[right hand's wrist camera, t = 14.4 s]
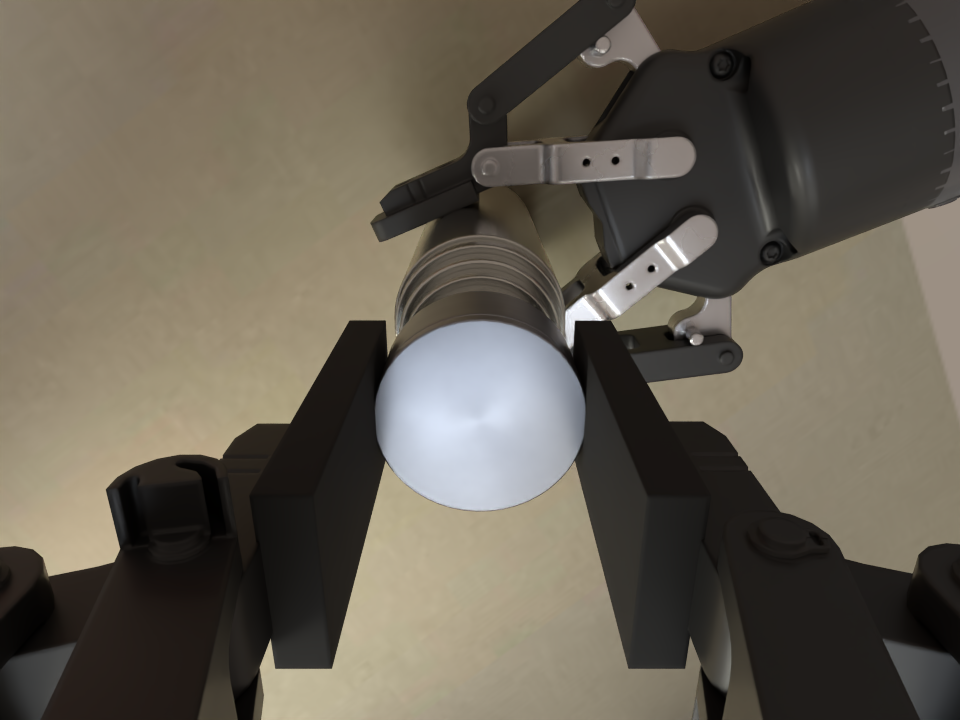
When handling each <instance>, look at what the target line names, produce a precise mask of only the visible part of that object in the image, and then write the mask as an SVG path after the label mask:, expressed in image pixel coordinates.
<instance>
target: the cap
mask: <svg viewBox="0 0 960 720" xmlns="http://www.w3.org/2000/svg"><path fill="white" fill-rule="evenodd" d="M374 404H375V420H376V435H377V443H378V446H379V448H380V450H381V453H382V455H383V457H384V458H385V460H386V462H387V463H388V465H389V466H390V468H391V469H392V470H393V472H394V473H395V474H396V475H397V476H398V477H399V478H400V479H401V480H402V481H403V482H404V483H405V484H406V485H407V486H408V487H410V488H411V489H412V490H414V491H415V492H416V493H418V494H420V495H421V496H423V497H425V498H427V499H429V500H431V501H433V502H435V503H438V504H440V505H444V506H447V507H450V508H455V509H460V510H466V511H494V510H501V509H506V508H510V507H514V506H517V505H520V504H522V503H525V502H528V501H530V500H532V499H533V498H535V497H537V496H539V495H541V494H542V493H544V492H545V491H547V490H548V489H550V488H551V487H552V486H553V485H554V484H555V483H557V482H558V481H559V480H560V479H561V478H562V477H563V475H564V474H565V473H566V472H567V471H568V470H569V468H570V467H571V465H572V464H573V462H574V461H575V459H576V457H577V455H578V453H579V451H580V449H581V447H582V444H583V440H584V427H585V411H586V396H585V393H584V389H583V385H582V383H581V380H580V377H579V374H578V371H577V368H576V365H575V363H574V360H573V357H572V354H571V351H570V349H569V347H568V344H567V342H566V340H565V338H564V337H563V335H562V333H561V332H560V330H559V329H558V328H557V327H556V325H555V324H554V323H553V322H552V321H551V320H550V319H549V318H548V317H547V316H546V315H545V314H544V313H543V312H541V311H540V310H538V309H537V308H535V307H534V306H533V305H531V304H529V303H527V302H525V301H523V300H521V299H518V298H516V297H513V296H510V295H506V294H502V293H497V292H488V291H470V292H464V293H458V294H454V295H451V296H447V297H444V298H442V299H440V300H437V301H435V302H433V303H431V304H430V305H428V306H426V307H425V308H423V309H422V310H420V311H419V312H418V313H417V314H416V315H414V316H413V317H412V318H411V319H410V320H409V321H408V322H407V323H406V324H405V326H404V327H403V328H402V330H401V331H400V333H399V334H398V335H397V337H396V339H395V341H394V343H393V345H392V347H391V350H390V353H389V356H388V359H387V361H386V364H385V367H384V370H383V373H382V376H381V379H380V381H379V384H378V387H377V390H376V393H375V399H374Z"/></svg>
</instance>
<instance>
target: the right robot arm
mask: <svg viewBox="0 0 960 720" xmlns="http://www.w3.org/2000/svg"><path fill="white" fill-rule="evenodd" d="M387 359H388V354H387V337H386V321H349V323H348V324H347V326H346V328H345V330H344V331H343V333H342V335H341V336H340V338H339V340H338V342H337V343H336V345H335V347H334V349H333V350H332V352H331V354H330V356H329V357H328V359H327V361H326V363H325V364H324V366H323V368H322V369H321V371H320V373H319V375H318V376H317V378H316V380H315V382H314V383H313V385H312V387H311V389H310V390H309V392H308V394H307V396H306V397H305V399H304V401H303V402H302V404H301V406H300V408H299V409H298V411H297V413H296V415H295V416H294V418H293V420H292V422H291V423H290V424H256V425H255V426H253V427H252V428H250V429H249V430H247V431H246V432H244V433H242V434H241V435H239V436H238V437H236V438H235V439H234V440H233V442H232V443H231V445H230V446H229V447H228V449H227V450H226V452H225V453H224V454H223V459H220V460H218V459H216V458H212V457H208V456H204V455H176V456H171V457H165V458H160V459H156V460H153V461H150V462H147V463H144V464H141V465H139V466H136V467H134V468H132V469H130V470H129V471H127V472H125V473H124V474H122V475H120V476H119V477H117V478H116V479H115V480H114V481H113V482H112V483H111V484H110V486H109V487H108V488H107V489H106V492H107V496H108V500H109V504H110V508H111V513H112V517H113V521H114V525H115V529H116V533H117V537H118V541H119V545H120V551H119V553H118V556H117V558H116V560H115V562H114V563H110V564H106V565H102V566H99V567H94V568H89V569H84V570H79V571H74V572H69V573H64V574H59V575H54V576H49V577H48V573H47V570H46V567H45V563H44V560H43V557H41V556H40V555H39V554H38V553H37V552H35V551H34V550H33V549H28V548H22V547H16V546H13V547H2V548H0V720H261V715H262V707H263V698H264V694H263V687H262V680H261V674H260V668H259V667H260V665H261V662H262V659H263V657H264V654H265V652H266V649H267V646H268V644H269V641H270V639H271V643H272V650H273V656H274V663H275V669H332V666H333V662H334V658H335V654H336V651H337V647H338V643H339V639H340V635H341V631H342V627H343V623H344V620H345V616H346V612H347V608H348V604H349V600H350V596H351V592H352V588H353V585H354V581H355V577H356V573H357V569H358V565H359V561H360V557H361V554H362V550H363V546H364V542H365V538H366V534H367V530H368V526H369V522H370V519H371V515H372V511H373V507H374V503H375V499H376V495H377V491H378V488H379V484H380V480H381V476H382V472H383V468H384V464H385V458H384V457H383V455H382V453H381V450H380V448H379V446H378V443H377V435H376V420H375V404H374V399H375V393H376V390H377V387H378V384H379V381H380V379H381V376H382V373H383V370H384V367H385V364H386V361H387ZM573 360H574V363H575V365H576V368H577V371H578V374H579V377H580V380H581V383H582V385H583V389H584V393H585V396H586V411H585V427H584V440H583V444H582V447H581V449H580V451H579V453H578V455H577V457H576V459H575V463H576V467H577V470H578V474H579V478H580V482H581V486H582V490H583V494H584V498H585V501H586V505H587V509H588V513H589V517H590V521H591V525H592V529H593V532H594V536H595V540H596V544H597V548H598V552H599V556H600V560H601V564H602V567H603V571H604V575H605V579H606V583H607V587H608V591H609V595H610V598H611V602H612V606H613V610H614V614H615V618H616V622H617V626H618V629H619V633H620V637H621V641H622V645H623V649H624V653H625V657H626V660H627V664H628V668H629V669H685V666H686V659H687V653H688V646H689V639H690V637H691V639H692V642H693V644H694V647H695V650H696V652H697V655H698V657H699V660H700V662H701V668H700V674H699V680H698V686H697V692H696V698H695V704H694V710H693V716H692V720H960V545H959V544H948V543H945V544H940V545H934V546H928V547H927V548H926V549H925V550H924V551H922V552H921V553H920V554H919V555H918V559H917V562H916V565H915V569H914V572H913V574H911V573H906V572H901V571H896V570H891V569H886V568H881V567H876V566H871V565H867V564H862V563H858V562H854V561H851V560H847V559H844V556H843V554H842V552H841V550H840V548H839V547H838V546H837V544H836V543H835V542H834V540H833V539H832V538H831V537H830V535H829V534H827V533H826V532H824V531H823V530H821V529H820V528H818V527H817V526H815V525H814V524H813V523H810V522H808V521H806V520H803V519H801V518H798V517H796V516H793V515H791V514H786V513H781V512H780V511H779V510H778V508H777V507H776V505H775V504H774V503H773V501H772V500H771V498H770V497H769V496H768V494H767V493H766V491H765V490H764V489H763V487H762V486H761V484H760V483H759V482H758V480H757V479H756V477H755V476H754V475H753V473H752V472H751V471H748V466H747V465H746V464H745V462H744V461H743V459H742V458H741V457H740V456H738V452H737V451H736V450H735V448H734V447H733V445H732V444H731V443H730V441H729V440H728V438H727V437H726V436H725V435H723V434H722V433H720V432H719V431H717V430H716V429H714V428H712V427H711V426H709V425H708V424H706V423H705V422H669V421H668V419H667V417H666V416H665V414H664V412H663V410H662V409H661V407H660V405H659V403H658V402H657V400H656V398H655V396H654V395H653V393H652V391H651V390H650V388H649V386H648V384H647V383H646V381H645V379H644V377H643V376H642V374H641V372H640V370H639V369H638V367H637V365H636V363H635V362H634V360H633V358H632V357H631V355H630V353H629V351H628V350H627V348H626V346H625V344H624V343H623V341H622V339H621V337H620V336H619V334H618V332H617V330H616V329H615V327H614V325H613V324H612V322H611V321H575V326H574V344H573Z"/></svg>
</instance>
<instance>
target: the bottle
mask: <svg viewBox="0 0 960 720" xmlns="http://www.w3.org/2000/svg"><path fill="white" fill-rule="evenodd" d="M470 291H488V292H497V293H502V294H506V295H510V296H513V297H516V298H518V299H521V300H523V301H525V302H527V303H529V304H531V305H533V306H534V307H535V308H537V309H538V310H540V311H541V312H543V313H544V314H545V315H546V316H547V317H548V318H549V319H550V320H551V321H552V322H553V323H554V324H555V325H556V327H557V328H558V329H559V330H560V332H561V333H562V335H563V337H564V335H565V304H564V298H563V295H562V291H561V288H560V286H559V283H558V281H557V279H556V276H555V274H554V271H553V269H552V267H551V264H550V262H549V259H548V257H547V255H546V252H545V250H544V247H543V245H542V243H541V240H540V238H539V235H538V233H537V231H536V228H535V226H534V223H533V221H532V219H531V216H530V214H529V211H528V209H527V207H526V205H525V204H524V202H523V201H522V200H521V198H520V197H519V196H518V195H517V194H516V193H515V192H514V191H512V190H511V189H510V188H508V187H506V186H498V187H492V188H490V189H487V190H485V191H483V192H480V193H479V201H478V202H475V203H473V204H471V205H468V206H466V207H464V208H461V209H459V210H455V211H453V212H451V213H449V214H447V215H445V216H442V217H440V218H438V219H435V220H433V221H431V222H428V223H426V226H425V228H424V230H423V233H422V235H421V238H420V240H419V243H418V245H417V247H416V250H415V252H414V255H413V257H412V259H411V262H410V264H409V267H408V269H407V271H406V274H405V276H404V279H403V281H402V284H401V286H400V289H399V292H398V295H397V299H396V305H395V334H396V337H397V335H398V334H399V333H400V331H401V330H402V328H403V327H404V326H405V324H406V323H407V322H408V321H409V320H410V319H411V318H412V317H413V316H414V315H416V314H417V313H418V312H419V311H420V310H422V309H423V308H425V307H426V306H428V305H430V304H431V303H433V302H435V301H437V300H440V299H442V298H444V297H447V296H451V295H454V294H458V293H464V292H470Z"/></svg>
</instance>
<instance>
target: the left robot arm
mask: <svg viewBox="0 0 960 720" xmlns="http://www.w3.org/2000/svg"><path fill="white" fill-rule="evenodd" d="M635 3H636V0H579V1H578V2H577V3H576V4H575V5H573V6H572V7H571V8H570V9H569V10H567V11H566V12H565V13H564V14H563V15H561V16H560V17H559V18H558V19H557V20H555V21H554V22H553V23H552V24H551V25H549V26H548V27H547V28H546V29H545V30H543V31H542V32H541V33H540V34H539V35H537V36H536V37H535V38H534V39H533V40H531V41H530V42H529V43H528V44H527V45H525V46H524V47H523V48H522V49H521V50H520V51H518V52H517V53H516V54H515V55H514V56H512V57H511V58H510V59H509V60H508V61H506V62H505V63H504V64H503V65H502V66H500V67H499V68H498V69H497V70H496V71H494V72H493V73H492V74H491V75H490V76H488V77H487V78H486V79H485V80H484V81H482V82H481V83H480V84H479V85H478V86H476V87H475V88H474V89H473V90H472V91H471V93H470V95H469V97H468V100H467V109H468V112H469V128H470V143H469V146H468V148H467V150H466V151H465V153H464V154H463V155H461V156H460V157H459V158H457V159H454V160H452V161H450V162H448V163H445V164H443V165H441V166H438V167H436V168H434V169H432V170H429V171H427V172H425V173H423V174H420V175H418V176H416V177H413V178H411V179H409V180H407V181H404V182H402V183H400V184H397V185H395V186H394V188H393V189H392V190H391V191H390V192H389V193H388V194H387V195H386V196H385V197H384V198H383V199H382V200H381V201H380V204H381V206H382V208H383V211H384V212H383V213H381V214H379V215H377V216H376V217H375V218H374V219H373V220H372V222H371V226H372V228H373V230H374V232H375V234H376V236H377V238H378V240H379V242H383V241H386V240H388V239H391V238H393V237H396V236H398V235H400V234H403V233H405V232H407V231H410V230H412V229H414V228H417V227H419V226H421V225H424V224H426V223H428V222H431V221H433V220H435V219H438V218H440V217H442V216H445V215H447V214H449V213H451V212H453V211H455V210H459V209H461V208H464V207H466V206H468V205H471V204H473V203H475V202H478V201H479V193H480V192H483V191H485V190H487V189H490V188H492V187H498V186H513V185H527V184H573V183H576V185H577V188H578V190H579V193H580V196H581V197H582V199H583V200H584V201H585V203H586V204H587V206H588V207H589V209H590V210H591V211H592V213H593V218H594V232H595V238H596V241H597V244H598V247H599V249H600V252H599V253H598V254H597V255H596V256H594V257H593V258H592V259H591V260H590V261H588V262H587V263H586V264H585V265H584V266H583V267H582V268H581V269H580V270H579V271H578V273H577V275H576V276H575V277H574V279H572V280H571V281H570V282H569V283H568V284H567V285H565V286H564V287H563V288H562V289H561V291H562V295H563V298H564V304H565V335H564V338H565V340H566V342H567V344H568V347H569V349H570V351H571V354H572V357H573V344H574V326H575V321H607V320H612V319H615V318H617V317H619V316H620V315H621V314H623V313H624V312H625V311H626V310H628V309H629V308H630V307H632V306H633V305H634V304H635V303H637V302H638V301H639V300H640V299H642V298H643V297H644V296H645V295H647V294H648V293H649V292H650V291H652V290H653V289H654V288H655V287H660V288H664V289H668V290H673V291H677V292H681V293H686V294H690V295H694V296H697V299H696V300H695V302H694V303H693V304H692V305H691V306H690V307H689V308H687V309H684V310H680V311H678V312H676V313H675V314H673V315H672V316H671V318H670V319H669V322H668V325H663V326H656V327H648V328H640V329H633V330H625V331H617V332H618V334H619V336H620V337H621V339H622V341H623V343H624V344H625V346H626V348H627V350H628V351H629V353H630V355H631V357H632V358H633V360H634V362H635V363H636V365H637V367H638V369H639V370H640V372H641V374H642V376H643V377H644V379H645V381H646V383H649V382H657V381H665V380H673V379H681V378H688V377H696V376H704V375H712V374H720V373H727V372H731V371H733V370H735V369H736V368H737V367H738V366H739V365H740V363H741V362H742V359H743V351H742V349H741V347H740V346H739V345H738V344H737V343H736V342H735V341H734V340H733V339H732V337H731V296H732V295H734V294H735V293H737V292H738V291H739V290H741V289H742V288H743V287H744V286H745V285H746V284H747V283H748V281H749V280H750V279H752V278H753V277H754V276H755V275H756V274H758V273H759V272H760V271H762V270H763V269H765V268H767V267H770V266H772V265H775V264H779V263H782V262H786V261H789V260H792V259H795V258H798V257H801V256H804V255H806V254H809V253H811V252H814V251H817V250H819V249H822V248H824V247H827V246H829V245H832V244H835V243H837V242H840V241H842V240H845V239H848V238H850V237H853V236H855V235H858V234H861V233H863V232H866V231H868V230H871V229H874V228H876V227H879V226H881V225H884V224H886V223H889V222H892V221H894V220H897V219H900V218H902V217H905V216H907V215H910V214H912V213H915V212H918V211H920V210H923V209H925V208H929V209H930V208H935V207H939V206H942V205H945V204H948V203H951V202H953V201H955V200H957V198H959V197H960V0H813V1H811V2H809V3H806V4H804V5H802V6H799V7H797V8H795V9H793V10H790V11H788V12H786V13H784V14H781V15H779V16H777V17H774V18H772V19H770V20H768V21H765V22H763V23H761V24H758V25H756V26H754V27H752V28H749V29H747V30H745V31H742V32H740V33H738V34H736V35H733V36H731V37H729V38H726V39H724V40H722V41H720V42H717V43H715V44H713V45H710V46H708V47H706V48H703V49H700V50H698V51H680V50H663V51H661V50H660V48H659V47H658V45H657V43H656V42H655V40H654V38H653V37H652V35H651V33H650V32H649V30H648V28H647V27H646V25H645V24H644V22H643V20H642V19H641V17H640V15H639V14H638V12H637V10H636V9H635V7H634V6H635ZM576 57H577V58H578V60H579V61H580V62H581V64H583V65H584V66H586V67H588V68H599V67H603V66H606V65H608V64H609V63H611V62H620V63H623V64H624V65H626V66H627V67H628V68H629V70H630V71H629V73H628V74H627V76H626V77H625V79H624V81H623V82H622V84H621V85H620V87H619V88H618V90H617V92H616V93H615V95H614V96H613V98H612V100H611V101H610V103H609V104H608V106H607V107H606V109H605V111H604V112H603V114H602V115H601V117H600V118H599V120H598V122H597V123H596V125H595V126H594V128H593V130H592V131H591V133H590V134H589V135H580V136H566V137H552V138H541V139H535V140H522V141H507V113H509V112H510V111H511V110H512V109H514V108H515V107H516V106H517V105H519V104H520V103H521V102H522V101H523V100H525V99H526V98H527V97H528V96H530V95H531V94H532V93H533V92H535V91H536V90H537V89H538V88H540V87H541V86H542V85H543V84H544V83H546V82H547V81H548V80H549V79H551V78H552V77H553V76H554V75H556V74H557V73H558V72H559V71H560V70H562V69H563V68H564V67H565V66H567V65H568V64H569V63H570V62H572V61H573V60H574V59H575V58H576ZM628 283H630V284H629V285H628V286H626V285H627V284H628Z"/></svg>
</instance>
